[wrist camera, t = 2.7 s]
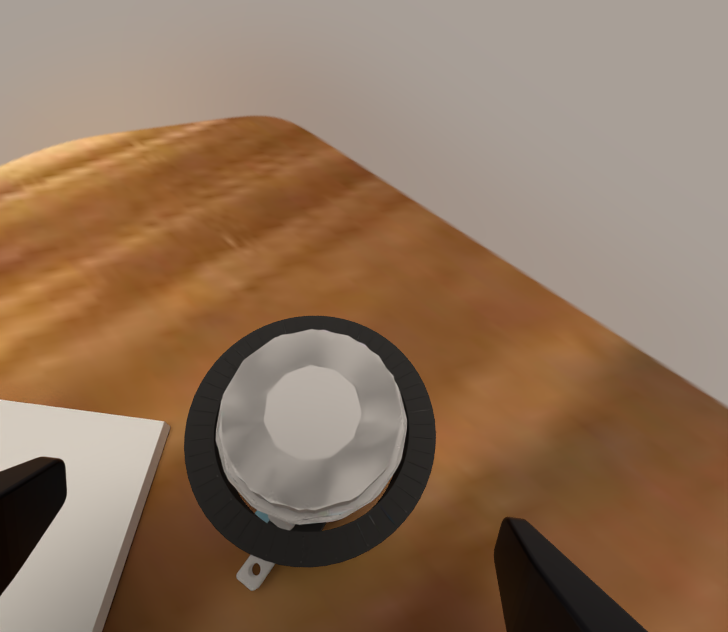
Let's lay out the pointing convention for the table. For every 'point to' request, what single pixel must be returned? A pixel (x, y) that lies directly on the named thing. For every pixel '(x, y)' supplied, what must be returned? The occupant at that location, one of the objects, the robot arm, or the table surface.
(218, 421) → the push button
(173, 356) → the table surface
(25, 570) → the marker board
